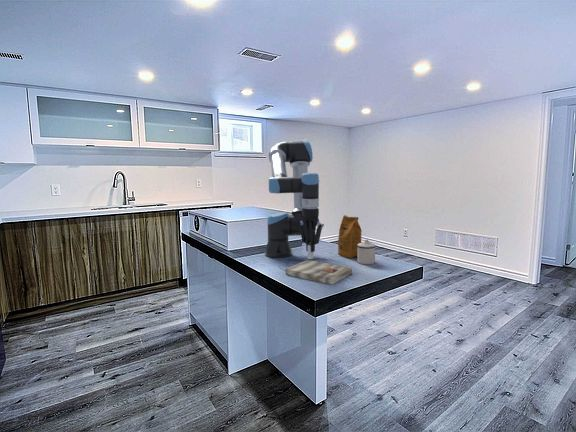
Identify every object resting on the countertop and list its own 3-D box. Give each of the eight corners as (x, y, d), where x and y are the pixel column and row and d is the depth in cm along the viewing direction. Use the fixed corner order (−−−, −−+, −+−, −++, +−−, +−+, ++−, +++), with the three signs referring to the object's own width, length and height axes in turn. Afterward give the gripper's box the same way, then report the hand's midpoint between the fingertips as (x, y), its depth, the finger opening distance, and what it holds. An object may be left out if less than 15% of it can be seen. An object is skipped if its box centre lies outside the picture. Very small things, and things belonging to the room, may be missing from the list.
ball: (320, 270, 141) (326, 266, 138) (325, 268, 144) (331, 264, 141) (325, 278, 140) (331, 274, 137) (330, 276, 143) (336, 272, 140)
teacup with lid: (379, 263, 159) (379, 240, 157) (363, 265, 155) (364, 242, 154) (365, 257, 170) (365, 236, 168) (350, 259, 166) (350, 237, 165)
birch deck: (285, 274, 144) (285, 268, 144) (307, 264, 158) (307, 259, 158) (332, 284, 130) (332, 278, 129) (351, 273, 144) (351, 267, 144)
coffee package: (349, 251, 183) (349, 213, 180) (363, 256, 172) (364, 216, 169) (335, 254, 178) (335, 215, 175) (349, 259, 167) (349, 217, 164)
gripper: (293, 207, 144) (294, 257, 147) (318, 209, 136) (318, 262, 140) (303, 205, 149) (303, 254, 153) (327, 207, 142) (326, 258, 146)
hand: (310, 258), depth 146 cm, fingers closed
